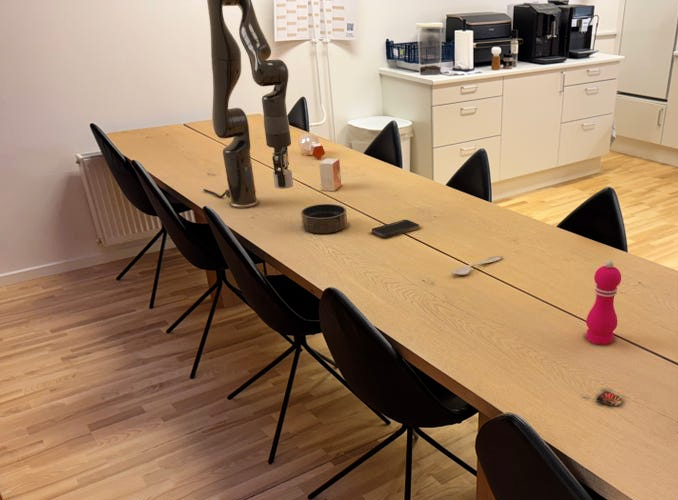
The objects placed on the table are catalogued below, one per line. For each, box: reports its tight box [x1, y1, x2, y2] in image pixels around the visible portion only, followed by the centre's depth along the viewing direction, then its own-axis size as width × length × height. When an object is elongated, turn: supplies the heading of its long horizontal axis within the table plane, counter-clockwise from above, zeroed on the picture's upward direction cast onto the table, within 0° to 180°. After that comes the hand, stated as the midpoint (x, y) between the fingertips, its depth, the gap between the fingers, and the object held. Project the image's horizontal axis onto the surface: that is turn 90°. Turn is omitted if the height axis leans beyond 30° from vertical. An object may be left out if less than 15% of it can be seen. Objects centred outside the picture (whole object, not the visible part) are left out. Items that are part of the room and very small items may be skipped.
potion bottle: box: [298, 132, 326, 160], centre depth 306 cm, size 9×10×15 cm
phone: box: [371, 219, 420, 239], centre depth 225 cm, size 8×1×15 cm
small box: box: [318, 157, 342, 192], centre depth 263 cm, size 8×6×10 cm
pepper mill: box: [585, 259, 622, 345], centre depth 157 cm, size 7×7×20 cm
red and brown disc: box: [596, 389, 622, 407], centre depth 140 cm, size 5×5×1 cm
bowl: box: [300, 203, 348, 235], centre depth 227 cm, size 15×15×6 cm
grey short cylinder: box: [272, 169, 294, 190], centre depth 218 cm, size 6×6×5 cm
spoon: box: [451, 256, 502, 276], centre depth 199 cm, size 4×21×2 cm, turn 136°
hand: (283, 183), depth 219 cm, fingers closed on grey short cylinder, 6 cm apart
